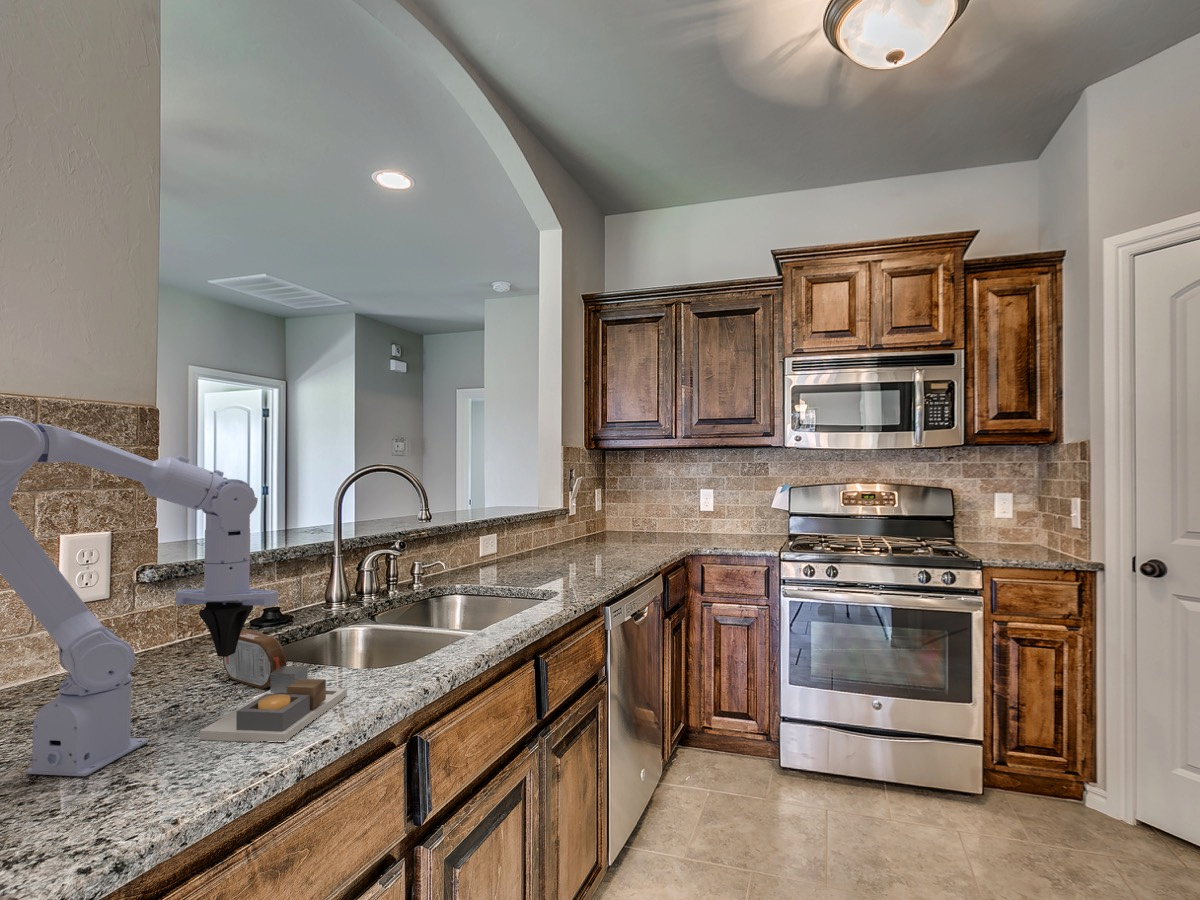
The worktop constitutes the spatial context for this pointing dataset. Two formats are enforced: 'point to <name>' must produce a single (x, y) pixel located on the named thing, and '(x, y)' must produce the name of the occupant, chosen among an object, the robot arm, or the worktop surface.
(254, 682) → the tin
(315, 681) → the small cardboard carton
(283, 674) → the grey slider
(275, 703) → the orange button
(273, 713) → the panel
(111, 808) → the worktop surface
